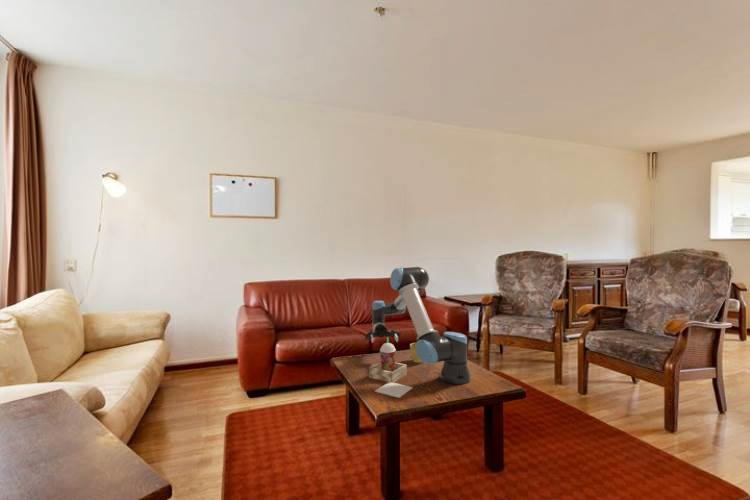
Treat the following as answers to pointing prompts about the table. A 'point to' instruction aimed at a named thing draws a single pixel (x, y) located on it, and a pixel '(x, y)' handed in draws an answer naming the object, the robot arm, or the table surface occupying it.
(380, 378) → the holder
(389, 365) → the smoothie
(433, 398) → the table surface
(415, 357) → the plant pot
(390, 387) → the mat
